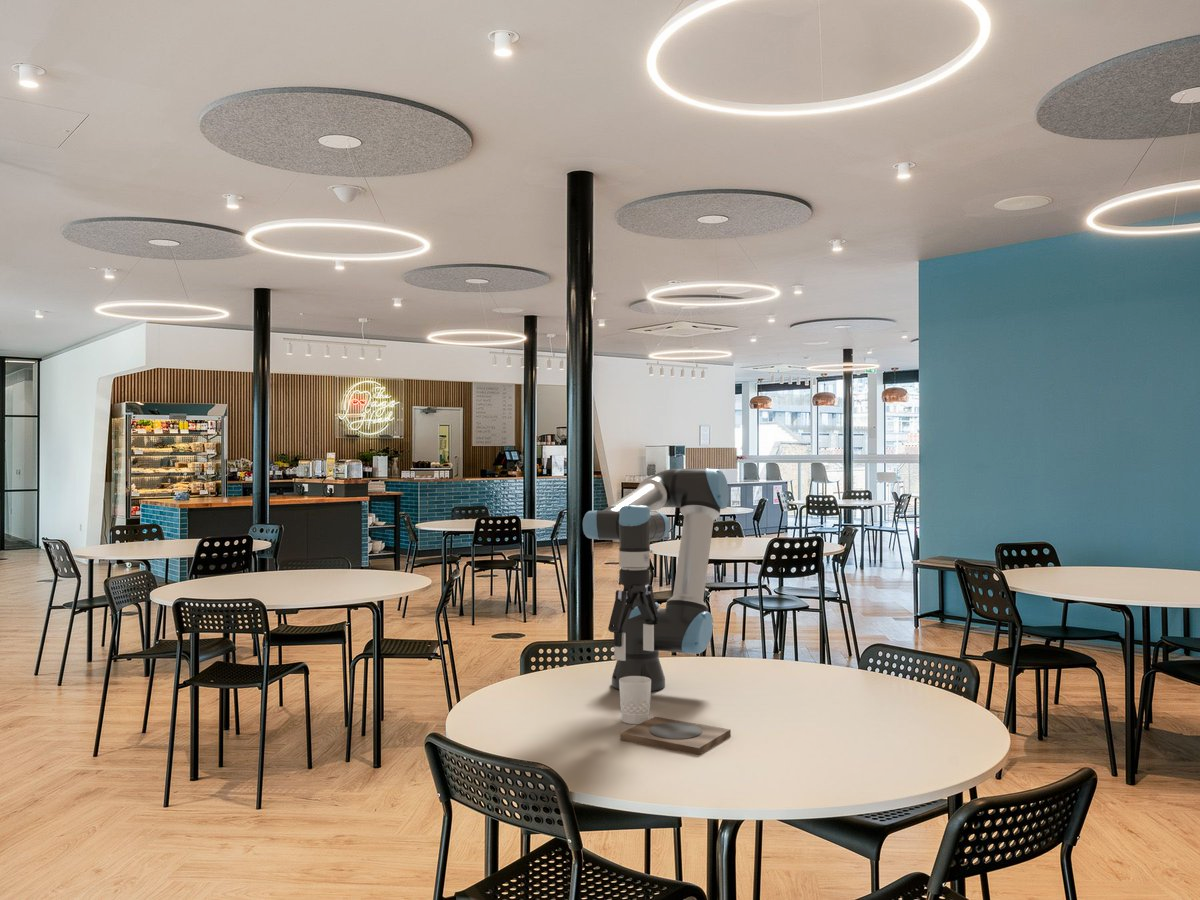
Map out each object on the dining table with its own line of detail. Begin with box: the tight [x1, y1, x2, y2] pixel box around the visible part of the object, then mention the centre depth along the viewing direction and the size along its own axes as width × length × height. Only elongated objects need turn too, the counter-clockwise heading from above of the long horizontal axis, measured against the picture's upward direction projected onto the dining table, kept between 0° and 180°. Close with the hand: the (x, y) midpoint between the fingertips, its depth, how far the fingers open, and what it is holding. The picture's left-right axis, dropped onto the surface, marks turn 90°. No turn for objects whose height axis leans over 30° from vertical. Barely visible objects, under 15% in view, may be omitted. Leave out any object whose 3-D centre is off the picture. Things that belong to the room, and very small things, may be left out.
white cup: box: [619, 676, 652, 725], centre depth 219 cm, size 8×8×10 cm
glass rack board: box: [619, 716, 732, 756], centre depth 205 cm, size 16×20×2 cm
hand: (634, 655), depth 219 cm, fingers open, 13 cm apart
